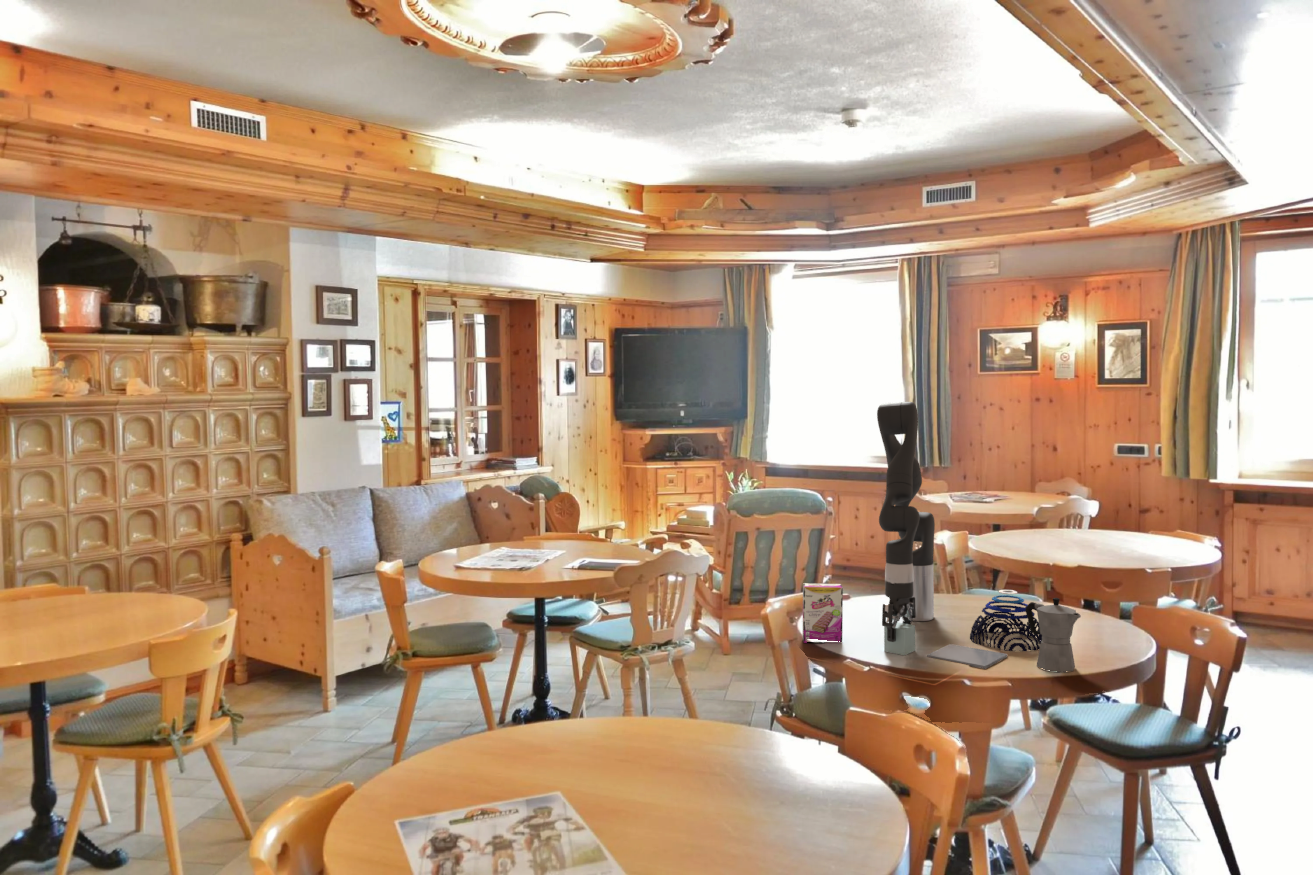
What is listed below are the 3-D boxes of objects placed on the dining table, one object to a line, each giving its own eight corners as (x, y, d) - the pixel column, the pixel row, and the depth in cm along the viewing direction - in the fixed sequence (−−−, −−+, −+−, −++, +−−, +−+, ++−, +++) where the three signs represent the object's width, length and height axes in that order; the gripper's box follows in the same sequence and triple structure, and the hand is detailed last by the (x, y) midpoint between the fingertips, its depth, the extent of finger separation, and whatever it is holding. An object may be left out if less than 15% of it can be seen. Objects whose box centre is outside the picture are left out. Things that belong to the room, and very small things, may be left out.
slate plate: (950, 646, 262) (950, 643, 262) (1007, 656, 251) (1007, 653, 251) (927, 657, 252) (927, 654, 252) (985, 668, 241) (985, 665, 241)
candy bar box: (803, 643, 267) (802, 586, 266) (802, 639, 272) (801, 582, 271) (843, 644, 266) (843, 586, 265) (841, 639, 271) (841, 583, 270)
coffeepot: (1090, 670, 239) (1091, 599, 238) (1068, 677, 233) (1068, 605, 232) (1036, 656, 251) (1036, 589, 250) (1014, 662, 246) (1014, 594, 245)
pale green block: (895, 646, 261) (895, 621, 261) (915, 650, 257) (915, 625, 257) (884, 651, 257) (884, 625, 257) (904, 655, 253) (904, 629, 253)
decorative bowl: (1034, 633, 276) (1034, 584, 275) (1056, 652, 256) (1056, 599, 255) (963, 632, 278) (963, 583, 277) (980, 651, 258) (980, 599, 257)
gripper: (899, 573, 264) (899, 630, 265) (873, 581, 253) (873, 641, 254) (924, 576, 259) (924, 635, 259) (898, 584, 248) (898, 645, 249)
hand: (899, 638), depth 257 cm, fingers open, 8 cm apart
